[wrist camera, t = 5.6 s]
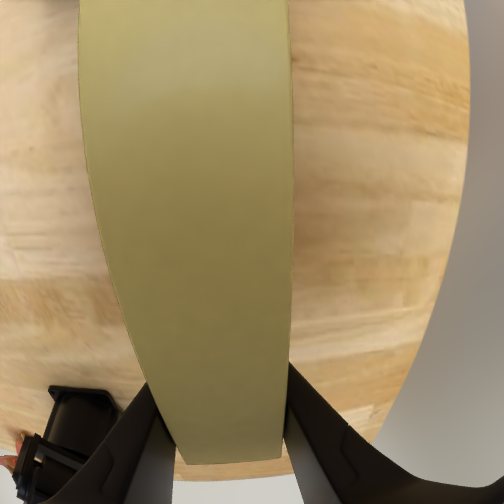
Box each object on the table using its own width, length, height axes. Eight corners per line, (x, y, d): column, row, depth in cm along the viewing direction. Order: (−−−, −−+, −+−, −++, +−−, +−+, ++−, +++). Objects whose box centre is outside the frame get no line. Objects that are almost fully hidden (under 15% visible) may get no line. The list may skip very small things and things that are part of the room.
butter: (268, 389, 11) (281, 458, 8) (187, 396, 11) (185, 465, 8) (256, -32, 5) (280, -98, 2) (130, -20, 5) (88, -75, 2)
